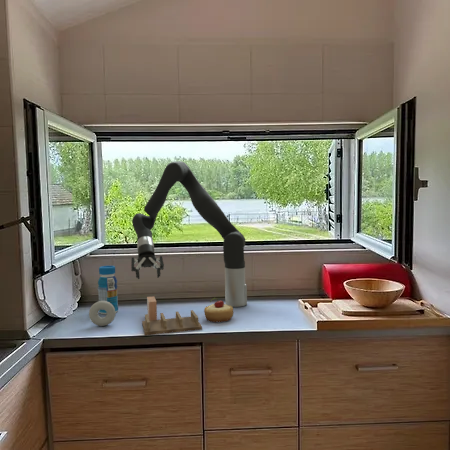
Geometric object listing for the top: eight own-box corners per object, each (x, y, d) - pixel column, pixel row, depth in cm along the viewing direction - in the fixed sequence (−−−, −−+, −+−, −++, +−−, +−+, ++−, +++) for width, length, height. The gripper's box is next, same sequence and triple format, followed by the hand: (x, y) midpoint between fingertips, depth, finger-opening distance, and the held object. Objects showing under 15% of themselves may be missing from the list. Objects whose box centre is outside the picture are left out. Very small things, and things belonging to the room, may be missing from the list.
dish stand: (194, 319, 167) (194, 308, 166) (202, 329, 153) (201, 318, 153) (142, 324, 161) (141, 313, 161) (144, 335, 148) (144, 324, 147)
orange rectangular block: (154, 315, 174) (154, 296, 173) (157, 321, 165) (156, 301, 165) (147, 315, 173) (147, 297, 172) (149, 321, 164) (148, 302, 164)
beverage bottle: (95, 314, 175) (94, 268, 174) (102, 309, 184) (100, 265, 183) (115, 314, 175) (113, 268, 174) (121, 309, 184) (119, 265, 182)
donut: (88, 328, 157) (87, 302, 157) (90, 325, 161) (89, 300, 160) (115, 326, 159) (114, 301, 158) (116, 323, 162) (115, 298, 161)
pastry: (236, 323, 161) (236, 300, 160) (206, 325, 159) (206, 302, 158) (230, 314, 173) (229, 293, 172) (202, 316, 170) (201, 295, 170)
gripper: (130, 243, 186) (132, 273, 176) (161, 242, 190) (165, 271, 179) (130, 254, 191) (131, 283, 181) (160, 252, 195) (164, 281, 185)
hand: (148, 277), depth 180 cm, fingers open, 8 cm apart
